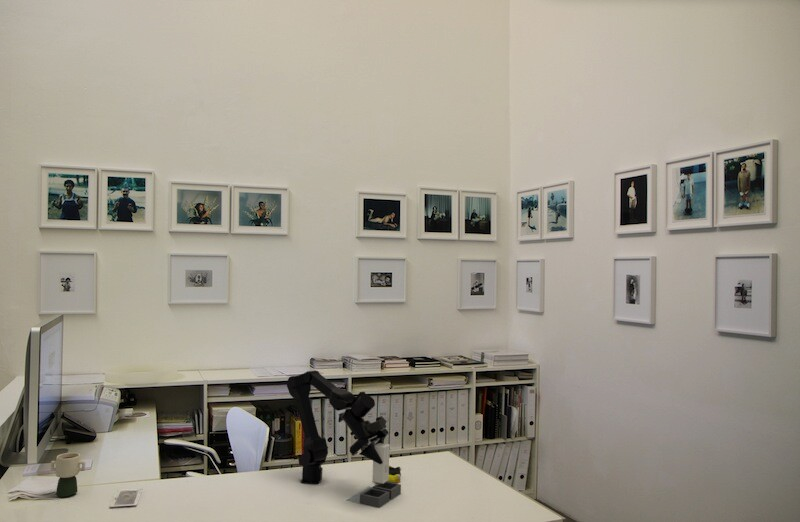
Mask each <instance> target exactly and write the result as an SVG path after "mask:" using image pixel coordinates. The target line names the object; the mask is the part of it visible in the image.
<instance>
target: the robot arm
mask: <svg viewBox="0 0 800 522" xmlns="http://www.w3.org/2000/svg"><path fill="white" fill-rule="evenodd" d="M311 386H313V387H314V388H315V389H316V390H318V391H319V393H321V394H322V395H324V396H325V397H326V398H327V399H328V403H329V404H330V406H331V407H332V408H333V409H334V410H335V411H337V412H338V411H343V412H341V413H338V423H342V422H344V423H345V424H346V426H347V427H348V428H349V430H350V431H351V432H350V433H349V434H350V435H351V436H355V438H356V441H355V442H354V443H353V444H352V445H351V446H349V453H350V454H351V456H356V455H357V454H358V452H359V451H360V452H359V455H360V456H363V457H366V458H367V459H369V460H371V461H375V462H377V463H378V464H382V463H383V462H382V460H381V458H380V456H379V455H378V453H377V451H376V450H375V445H376V444H378V443H383V444H385V439H386V437H387V436H388V435H389V434H390V432H389V431H388V429H386V428H387V425H386V424H387V420H386V418H384V417H383V416H382V415H381V416H379V417H376V418H375V421H373V422H370V420H365V418H364V417H366V416H367V415H368V414H369V412H371V410H373V408H374V407H375V406H376V402H375V399H374V398H373V397H372V396H370V395H369V394H367V393H366V392H365V391H359V393H358V394H357V396H355V395H354V394H353V393H352V391H351V392H350V391H349V390H347V389H343V388H339V387H337V386H336V385H335V384H333V382H331V381H330V380H329V379H327V378H326V377H324V376H323V375H322V374H320V372H319V371H318V370H308V371H305V372H304V373H301V374H298V375H291V376H289V377H288V379H287V381H286V387H287V391H288V393H289V395H290V396H291V398H293V399H294V400H295V402H296V407H297V411H298V415H299V418H300V423H301V427H302V431H303V434H304V441H303V442H304V443H303V445H302V450H303V453H302V454H301V455H300V456H299V457H298V458H297V460H298V465H299V466H302V471H301V472H302V473H301V474H302V475H301V477H302V478H301V480H300V484H301V483H302V484H311V485H312V484H313V485H318V484H319V483H320V481H322V479H323V467H322V464H326V460H327V457H328V455H329V446H328V443H327V439H326V438H325V437H321V435H319V431H318V428H317V424H316V420H315V415H314V412H313V409H312V404H311V400H310V394H311V390H312V387H311Z"/></svg>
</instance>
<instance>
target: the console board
mask: <svg viewBox="0 0 800 522" xmlns="http://www.w3.org/2000/svg"><path fill="white" fill-rule="evenodd" d="M401 494H402V484H400V483H391V482H385V483H383V484H382V483H377V484H374V485H373V486H367V487H366V488H364V489H362V490H361V491H359V492H357V493H356V494H353V495H352V496H351V497H349V498H347V499H345V501H346V502H350V503H355V504H359V505H364V506H368V507H371V508H378V509H380V508H382V507H384V506H385V505H386V504H388V503H390V502H391V501H392V500H394V499H395V498H396V497H398V496H399V495H401Z"/></svg>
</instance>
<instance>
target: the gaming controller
mask: <svg viewBox="0 0 800 522" xmlns="http://www.w3.org/2000/svg"><path fill="white" fill-rule="evenodd" d="M401 471H402V467H401V466H397V467H393V466H391V465H390V464H389V478H388V481H387V482H391V483H396V484H400V482H401V477H402V473H401Z"/></svg>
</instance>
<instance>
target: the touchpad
mask: <svg viewBox="0 0 800 522" xmlns="http://www.w3.org/2000/svg"><path fill="white" fill-rule="evenodd" d="M142 491H143V488H136V489H135V488H134V489H130V488H129V489H119V490H118V489H117V491H116V493H115V495H114V497H113V499H112V501H111V503H110V506H109V508H110V507H111V508H114V507H115V508H116V507H128V506H137V505H138V502H139V500H140V497H141V494H142Z"/></svg>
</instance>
